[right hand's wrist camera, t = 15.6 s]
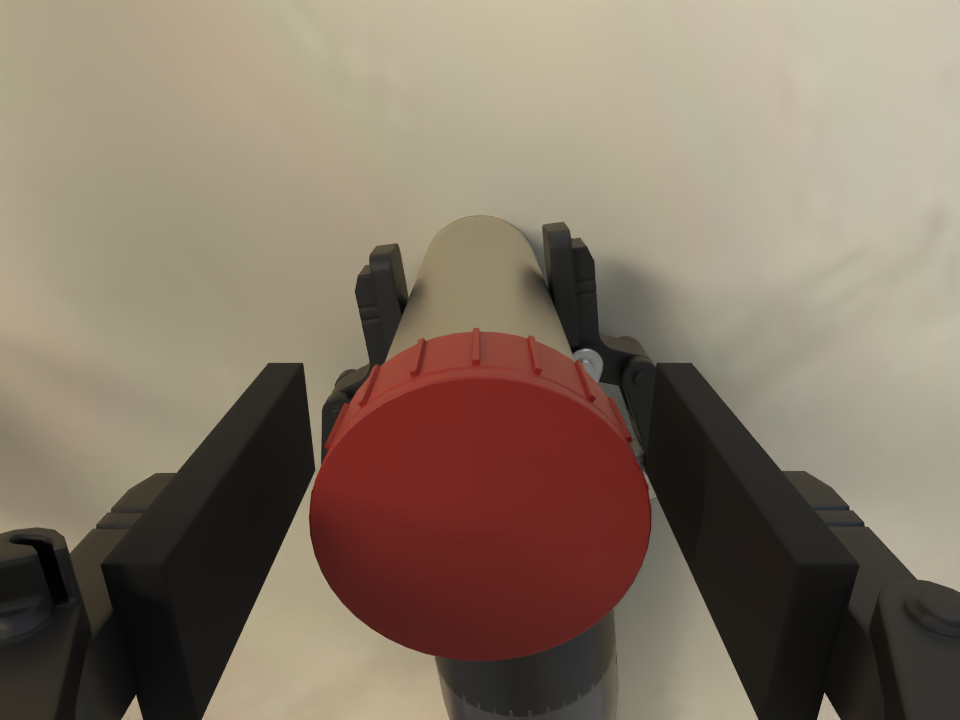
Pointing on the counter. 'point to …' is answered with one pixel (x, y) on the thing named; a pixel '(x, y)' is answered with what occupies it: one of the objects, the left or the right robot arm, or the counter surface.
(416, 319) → the jar
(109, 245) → the counter surface
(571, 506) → the lid
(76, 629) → the right robot arm
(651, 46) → the counter surface
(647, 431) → the left robot arm
